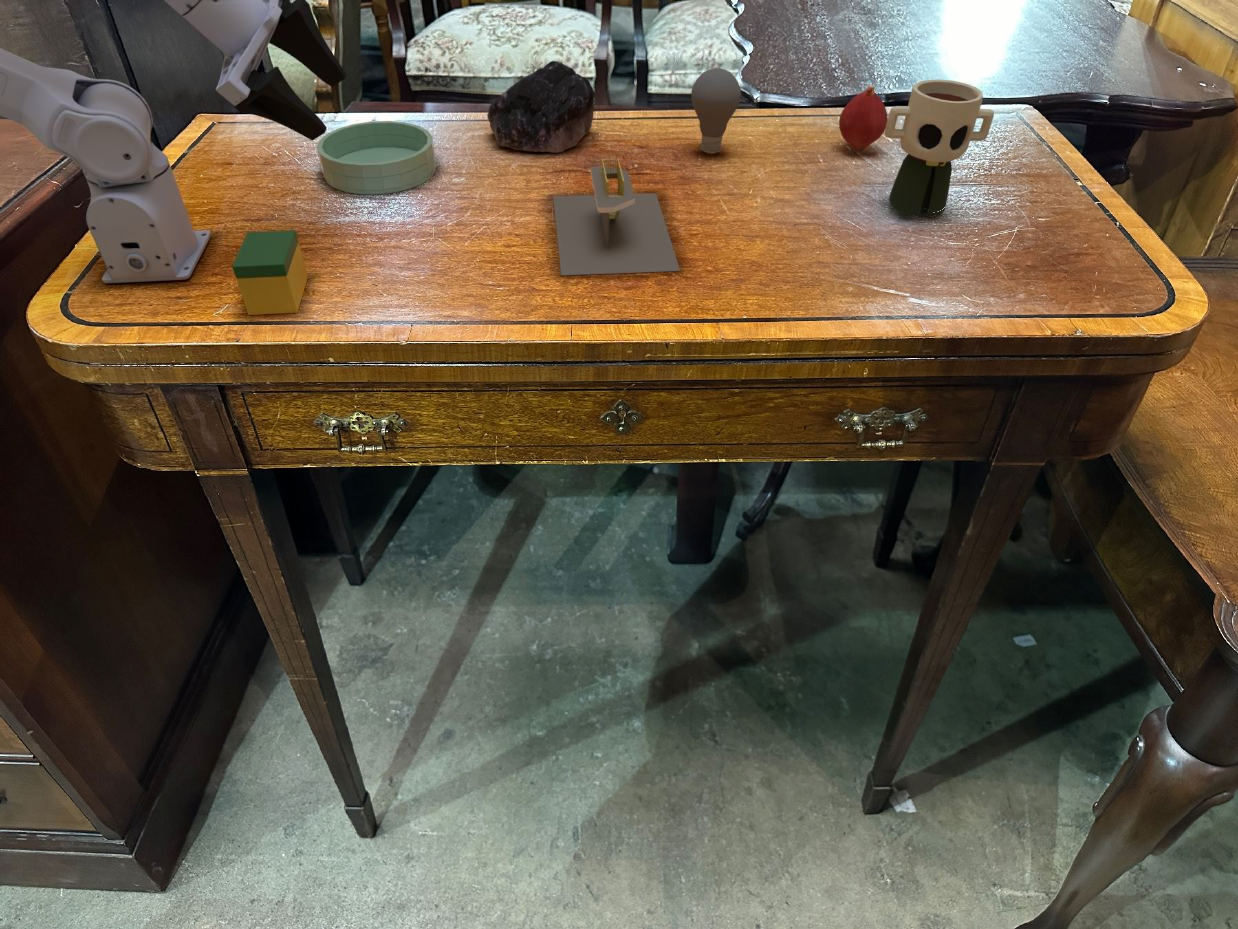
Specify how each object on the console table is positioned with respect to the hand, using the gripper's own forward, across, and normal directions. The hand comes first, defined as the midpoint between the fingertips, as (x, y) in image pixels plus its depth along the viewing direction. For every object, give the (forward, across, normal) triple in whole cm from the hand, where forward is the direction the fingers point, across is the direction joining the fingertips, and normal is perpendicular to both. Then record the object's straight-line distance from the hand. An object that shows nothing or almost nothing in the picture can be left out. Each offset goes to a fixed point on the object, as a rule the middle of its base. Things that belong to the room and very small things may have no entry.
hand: (329, 106), depth 80 cm
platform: (+26, -2, -16) cm, 30 cm away
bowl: (+13, +9, +10) cm, 19 cm away
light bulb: (+38, +19, -21) cm, 47 cm away
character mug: (+46, +7, -43) cm, 64 cm away
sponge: (+4, -18, +6) cm, 19 cm away
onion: (+49, +22, -36) cm, 65 cm away
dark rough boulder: (+26, +21, -2) cm, 34 cm away
